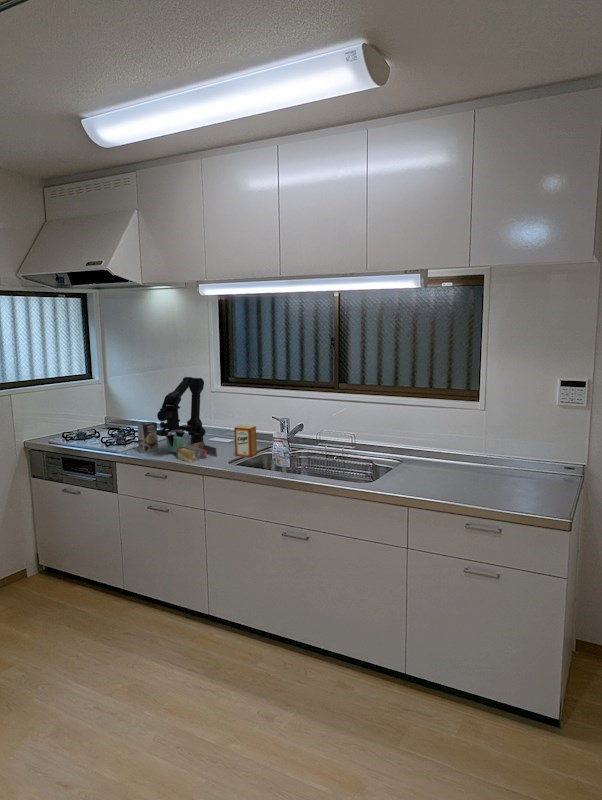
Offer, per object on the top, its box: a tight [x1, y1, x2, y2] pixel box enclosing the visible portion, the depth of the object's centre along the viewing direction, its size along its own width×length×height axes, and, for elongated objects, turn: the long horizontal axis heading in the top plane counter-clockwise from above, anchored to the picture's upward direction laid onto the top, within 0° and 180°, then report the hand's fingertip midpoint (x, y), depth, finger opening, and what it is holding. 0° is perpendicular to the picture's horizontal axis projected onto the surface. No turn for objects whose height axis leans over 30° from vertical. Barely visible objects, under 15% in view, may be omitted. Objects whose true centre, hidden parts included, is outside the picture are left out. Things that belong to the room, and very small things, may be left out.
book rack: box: [175, 441, 218, 463], centre depth 299 cm, size 17×12×6 cm
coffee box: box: [137, 421, 159, 454], centre depth 315 cm, size 9×6×16 cm
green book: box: [166, 434, 184, 454], centre depth 306 cm, size 4×11×8 cm, turn 43°
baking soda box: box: [234, 424, 258, 458], centre depth 300 cm, size 10×6×16 cm
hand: (175, 445), depth 306 cm, fingers closed on green book, 3 cm apart
